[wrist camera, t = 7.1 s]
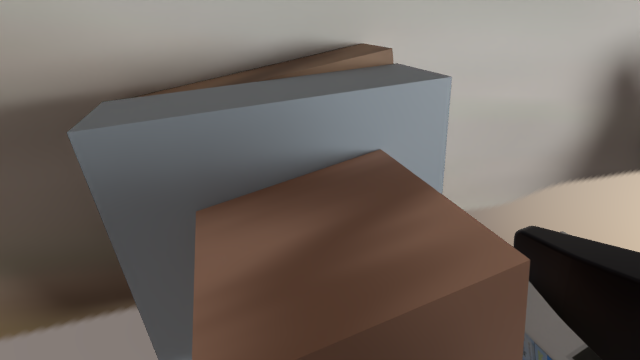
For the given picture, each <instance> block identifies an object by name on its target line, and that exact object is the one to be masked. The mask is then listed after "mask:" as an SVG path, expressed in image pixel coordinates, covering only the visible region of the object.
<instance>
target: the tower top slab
mask: <svg viewBox="0 0 640 360" xmlns="http://www.w3.org/2000/svg"><path fill="white" fill-rule="evenodd" d="M451 81H452V77H451V76H446V75H442V74H438V73H434V72H430V71H426V70H422V69H418V68H414V67H410V66H406V65H402V64H389V65H382V66H374V67H366V68H358V69H351V70H343V71H335V72H328V73H320V74H312V75H305V76H297V77H289V78H282V79H274V80H266V81H259V82H251V83H243V84H236V85H228V86H220V87H213V88H205V89H197V90H190V91H182V92H174V93H167V94H159V95H151V96H144V97H136V98H128V99H120V100H113V101H105V102H102V103H101V104H99V105H98V106H97V107H96V108H95V109H94V110H93V111H91V112H90V113H89V114H88V115H87V116H86V117H84V118H83V119H82V120H81V121H80V122H79V123H77V124H76V125H75V126H74V127H73V128H72V129H70V130H69V131H68V132H67V134H68V137H69V139H70V142H71V144H72V147H73V149H74V152H75V154H76V157H77V159H78V162H79V164H80V167H81V169H82V172H83V174H84V177H85V179H86V181H87V184H88V186H89V189H90V191H91V194H92V196H93V199H94V201H95V204H96V206H97V209H98V211H99V214H100V216H101V219H102V221H103V224H104V226H105V228H106V231H107V233H108V236H109V238H110V241H111V243H112V246H113V248H114V251H115V253H116V256H117V258H118V261H119V263H120V266H121V268H122V271H123V273H124V276H125V278H126V280H127V283H128V285H129V288H130V290H131V293H132V295H133V298H134V300H135V303H136V305H137V308H138V310H139V312H140V315H141V318H142V320H143V322H144V325H145V327H146V330H147V332H148V335H149V337H150V340H151V342H152V345H153V347H154V350H155V352H156V355H157V357H158V360H192V338H193V301H194V265H195V228H196V211H199V210H202V209H205V208H208V207H211V206H214V205H217V204H220V203H223V202H226V201H229V200H232V199H235V198H238V197H240V196H243V195H246V194H249V193H252V192H255V191H258V190H261V189H264V188H267V187H270V186H273V185H276V184H279V183H282V182H285V181H288V180H291V179H294V178H297V177H300V176H303V175H306V174H309V173H311V172H314V171H317V170H320V169H323V168H326V167H329V166H332V165H335V164H338V163H341V162H344V161H347V160H350V159H353V158H356V157H359V156H362V155H365V154H368V153H371V152H374V151H377V150H380V149H381V150H383V151H384V152H385V153H387V154H388V155H389V156H391V157H392V158H394V159H395V160H396V161H398V162H399V163H400V164H402V165H403V166H404V167H406V168H407V169H408V170H410V171H411V172H412V173H414V174H415V175H416V176H418V177H419V178H421V179H422V180H423V181H425V182H426V183H427V184H429V185H430V186H431V187H433V188H434V189H435V190H437V191H438V192H439V193H441V194H442V190H443V178H444V166H445V154H446V142H447V130H448V117H449V105H450V93H451Z"/></svg>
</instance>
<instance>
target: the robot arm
mask: <svg viewBox="0 0 640 360" xmlns="http://www.w3.org/2000/svg"><path fill="white" fill-rule="evenodd" d="M514 248H515V249H516V250H518V251H519V252H521V253H522V254H523V255H525V256H526V257H527V258H529V259H530V270H529V282H530V283H531V284H532V285H533V286H534V288H535V289H536V290H537V291H538V292H539V294H540V295H541V296H542V297H543V298H544V300H545V301H546V302H547V303H548V304H549V306H550V307H551V308H552V309H553V310H554V312H555V313H556V314H557V315H558V316H559V317H560V318H561V319H562V320H563V321H564V322H565V324H566V325H567V326H568V327H569V328H570V329H571V330H572V331H573V332H574V333H575V334H576V335H577V336H578V337H579V338H580V339H581V340H582V341H583V342H584V343H585V344H586V345H587V346H588V347H589V348H590V349H591V350H592V351H593V352H594V353H595V354H596V355H597V356H598V357H599V358H600V359H601V360H640V252H635V251H632V250H628V249H624V248H620V247H616V246H612V245H608V244H604V243H600V242H596V241H592V240H588V239H584V238H580V237H576V236H572V235H568V234H564V233H560V232H556V231H552V230H548V229H544V228H540V227H536V226H529V227H526V228H523V229H520V230H518V231H517V232H516V233H515V236H514Z"/></svg>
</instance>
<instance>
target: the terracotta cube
mask: <svg viewBox="0 0 640 360" xmlns="http://www.w3.org/2000/svg"><path fill="white" fill-rule="evenodd" d="M529 270H530V259H529V258H527V257H526V256H525V255H523V254H522V253H521V252H519V251H518V250H516V249H515V248H514V247H512V246H511V245H510V244H508V243H507V242H506V241H504V240H503V239H502V238H500V237H499V236H498V235H496V234H495V233H494V232H492V231H491V230H489V229H488V228H487V227H485V226H484V225H483V224H481V223H480V222H478V221H477V220H476V219H475V218H473V217H472V216H471V215H469V214H468V213H466V212H465V211H464V210H462V209H461V208H460V207H458V206H457V205H456V204H454V203H453V202H452V201H450V200H449V199H448V198H446V197H445V196H444V195H442V194H441V193H439V192H438V191H437V190H435V189H434V188H433V187H431V186H430V185H429V184H427V183H426V182H425V181H423V180H422V179H421V178H419V177H418V176H416V175H415V174H414V173H412V172H411V171H410V170H408V169H407V168H406V167H404V166H403V165H402V164H400V163H399V162H398V161H396V160H395V159H394V158H392V157H391V156H389V155H388V154H387V153H385V152H384V151H383V150H381V149H380V150H377V151H374V152H371V153H368V154H365V155H362V156H359V157H356V158H353V159H350V160H347V161H344V162H341V163H338V164H335V165H332V166H329V167H326V168H323V169H320V170H317V171H314V172H311V173H309V174H306V175H303V176H300V177H297V178H294V179H291V180H288V181H285V182H282V183H279V184H276V185H273V186H270V187H267V188H264V189H261V190H258V191H255V192H252V193H249V194H246V195H243V196H240V197H238V198H235V199H232V200H229V201H226V202H223V203H220V204H217V205H214V206H211V207H208V208H205V209H202V210H199V211H196V228H195V265H194V301H193V338H192V360H522V359H523V346H524V333H525V321H526V308H527V295H528V282H529Z"/></svg>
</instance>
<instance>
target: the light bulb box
mask: <svg viewBox="0 0 640 360" xmlns="http://www.w3.org/2000/svg"><path fill="white" fill-rule="evenodd" d="M560 233H564V234H566V233H565V232H560ZM522 360H601V359H600V358H599V357H598V356H597V355H596V354H595V353H594V352H593V351H592V350H591V349H590V348H589V347H588V346H587V345H586V344H585V343H584V342H583V341H582V340H581V339H580V338H579V337H578V336H577V335H576V334H575V333H574V332H573V331H572V330H571V329H570V328H569V327H568V326H567V325H566V324H565V322H564V321H563V320H562V319H561V318H560V317H559V316H558V315H557V314H556V313H555V312H554V310H553V309H552V308H551V307H550V306H549V304H548V303H547V302H546V301H545V300H544V298H543V297H542V296H541V295H540V294H539V292H538V291H537V290H536V289H535V288H534V286H533V285H532V284H531V283H530V282H528V295H527V308H526V321H525V333H524V346H523V359H522Z"/></svg>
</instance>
